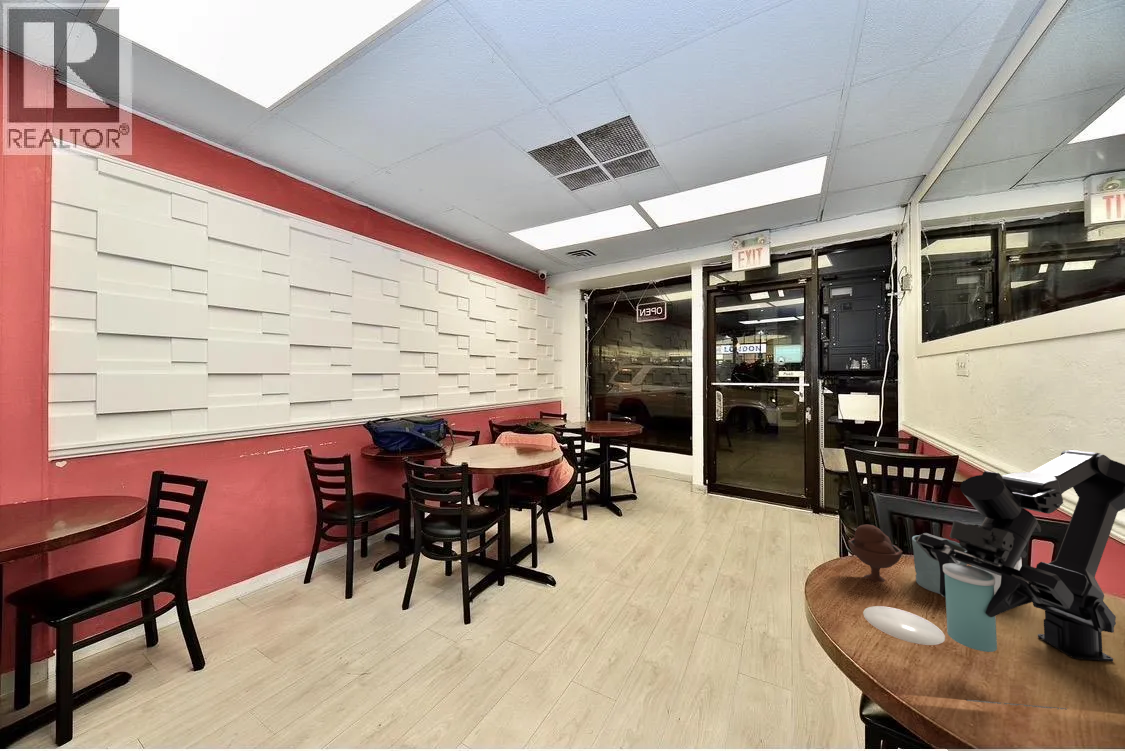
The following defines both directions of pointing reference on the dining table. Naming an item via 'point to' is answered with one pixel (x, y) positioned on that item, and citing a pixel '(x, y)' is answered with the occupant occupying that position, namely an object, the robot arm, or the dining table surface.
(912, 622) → the cream saucer
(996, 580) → the jar
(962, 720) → the dining table surface
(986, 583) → the teal canister
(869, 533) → the ice cream bowl
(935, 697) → the dining table surface
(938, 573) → the grey-blue cup
